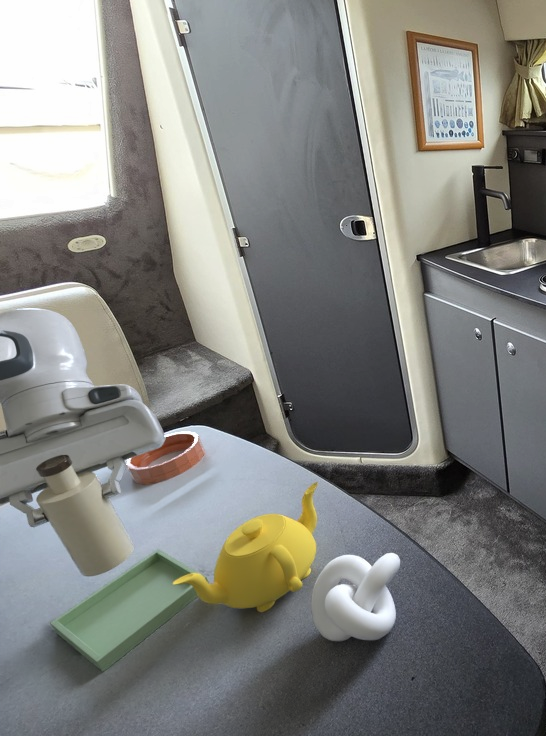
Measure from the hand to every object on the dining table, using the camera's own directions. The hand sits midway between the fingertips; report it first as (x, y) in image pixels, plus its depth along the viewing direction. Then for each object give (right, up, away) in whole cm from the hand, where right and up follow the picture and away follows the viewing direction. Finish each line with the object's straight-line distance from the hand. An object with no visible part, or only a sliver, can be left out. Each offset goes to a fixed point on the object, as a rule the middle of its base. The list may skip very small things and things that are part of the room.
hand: (78, 509), depth 65 cm
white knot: (+36, -18, +4) cm, 41 cm away
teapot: (+20, -16, +11) cm, 28 cm away
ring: (-19, -8, +36) cm, 41 cm away
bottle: (0, -9, +4) cm, 10 cm away
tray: (0, -18, +8) cm, 20 cm away
